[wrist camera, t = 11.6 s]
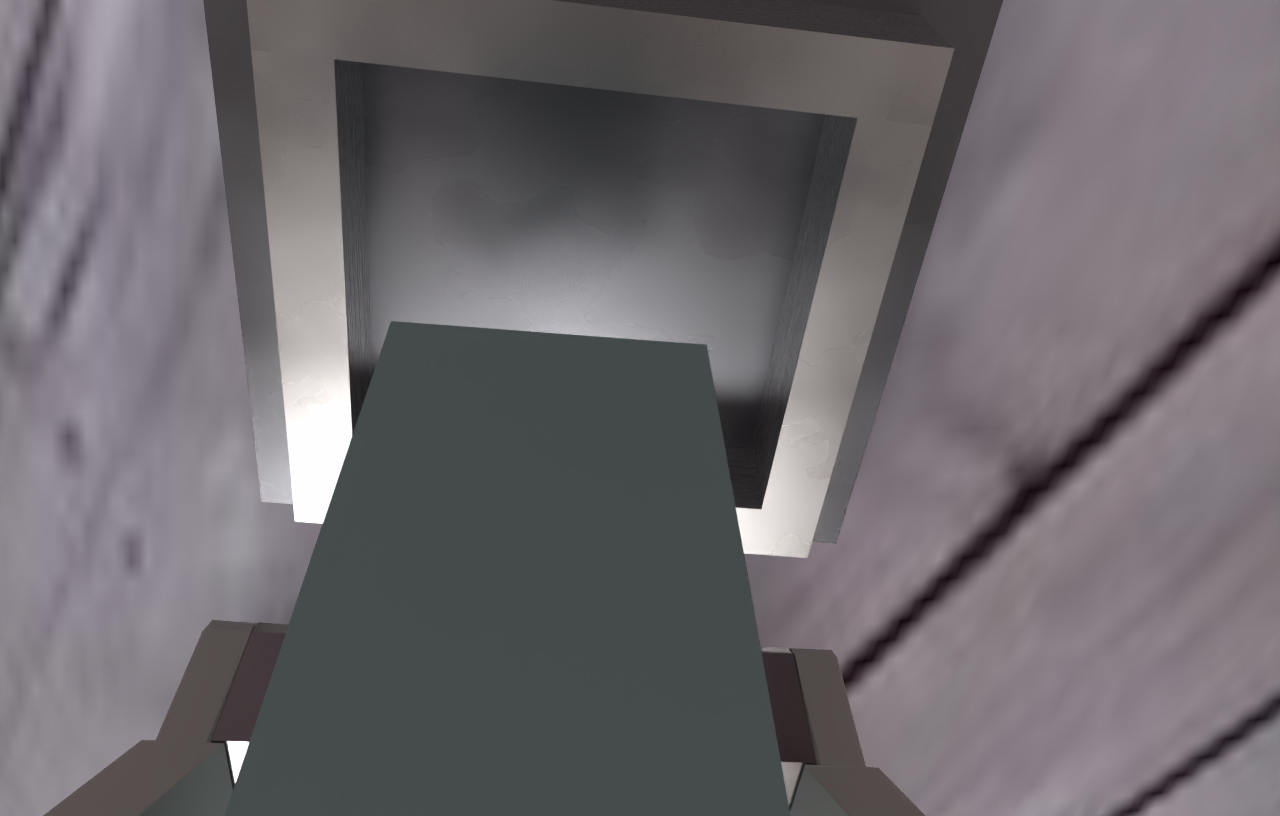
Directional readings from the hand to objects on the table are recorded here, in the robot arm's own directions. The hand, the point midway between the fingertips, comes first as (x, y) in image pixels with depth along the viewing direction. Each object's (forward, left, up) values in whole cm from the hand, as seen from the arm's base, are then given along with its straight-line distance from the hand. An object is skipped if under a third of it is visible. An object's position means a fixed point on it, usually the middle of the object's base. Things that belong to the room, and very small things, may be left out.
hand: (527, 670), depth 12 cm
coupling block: (0, 0, -3) cm, 3 cm away
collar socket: (0, -1, -11) cm, 11 cm away
